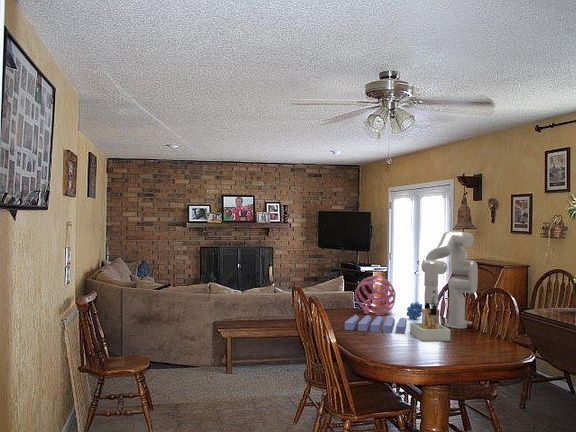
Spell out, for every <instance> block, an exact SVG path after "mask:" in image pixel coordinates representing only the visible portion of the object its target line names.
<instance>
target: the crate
mask: <svg viewBox="0 0 576 432" xmlns="http://www.w3.org/2000/svg"><path fill="white" fill-rule="evenodd" d="M409 334H410V335H411V337H414V338H415V339H417V340H419V342H425V343H426V342H427V343H429V342H430V343H431V342H432V343H433V342H434V343H435V341H436V342H437V343H439V342H438V341H450V342H451V329H449V327H447V326H443V325H442V324H440V323H439V329H422V322H410V323H409Z"/></svg>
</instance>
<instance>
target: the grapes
mask: <svg viewBox="0 0 576 432" xmlns="http://www.w3.org/2000/svg"><path fill="white" fill-rule="evenodd" d="M422 309H424V308H423V304H421V303H419V301H415V302H411V303H410V304H409V306H408V307H407V308H406V311H407V312H406V316H407V317H408V319H409V320H414V321H415V320H418V318H420V317H422Z"/></svg>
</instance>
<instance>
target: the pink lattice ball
mask: <svg viewBox="0 0 576 432" xmlns="http://www.w3.org/2000/svg"><path fill="white" fill-rule="evenodd" d="M377 280H378V281H377ZM380 281H382V282H380ZM383 282H384V283H383ZM366 285H368V288H369V290H370V291H371V293H369V292H368V291H367V289H366ZM373 285H376V287H374V286H373ZM378 286H380V287H381V289H382V290H380V289H378ZM360 288H361V291H362V292H363V294H364V295H365V296H367V299H365V297H363V295H362V294H361V291H360ZM354 291H355V292H354V297H355V300H356V302H357V304H358V305H359V307H361V308H362V309H363V313H364V314H365V315H369V313H373V314H375V315H377V316H381V317H382V316H384V315H386V314H387V313H388V312H389V311H390V310H392V309H393V307H394V305H395V303H396V292H395V291H396V290H395V288H394V286H393V284H392V282H390V281H389V279H387V278H385V277H382V276H379V275H371V276H368V277H366V278H363V279H362V280H361V281H360V282H359V283H358V285H357V287H356V289H355V290H354ZM387 292H389V293H390V294H388V293H387ZM375 294H378V295H382V294H383V295H384V297H376V296H374V295H375ZM357 295H358V296H357ZM391 298H392V300H391V301H390V299H391ZM359 299H360V300H359ZM360 301H362V302H363V303H364V304H365V305H363V304H362V303H361V302H360ZM372 301H376V302H386V303H385V304H376V303H373V302H372ZM369 307H372V308H375V309H384V310H374V309H370V308H369Z"/></svg>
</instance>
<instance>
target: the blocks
mask: <svg viewBox="0 0 576 432" xmlns="http://www.w3.org/2000/svg"><path fill="white" fill-rule="evenodd" d="M359 319H360V317H359V316H358V315H357V314H356V313H355V314H354V315H353V316H352V317H350V318H348V319H347V320H345V322H344V330H345V331H348V330H349V331H354V330H355V327H356V325H357V331H358V332H367V330H368V328H370V333H379V332H380V330H381V329H383V330H382V332H383V334H392V333H393V331H394V327H395V334H396V335H397V334H398V335H405V334H406V329H407V323H408V322H407V321H408V320H407V319H406V318H405V317H400V318H399V320H398V321H397V323H396V326H395V322H396V320H395V318H394V316H389V317H388V318H387V319H386V320H385V321H384V318H383V317H382V316H379V315H377V316H376V317H375V318H374V319H372V317H371V315H369V314H366V315H365V316H363V318H361V320H359ZM372 320H373V321H372ZM383 322H384V323H383ZM382 324H383V327H382ZM381 327H382V328H381Z"/></svg>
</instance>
